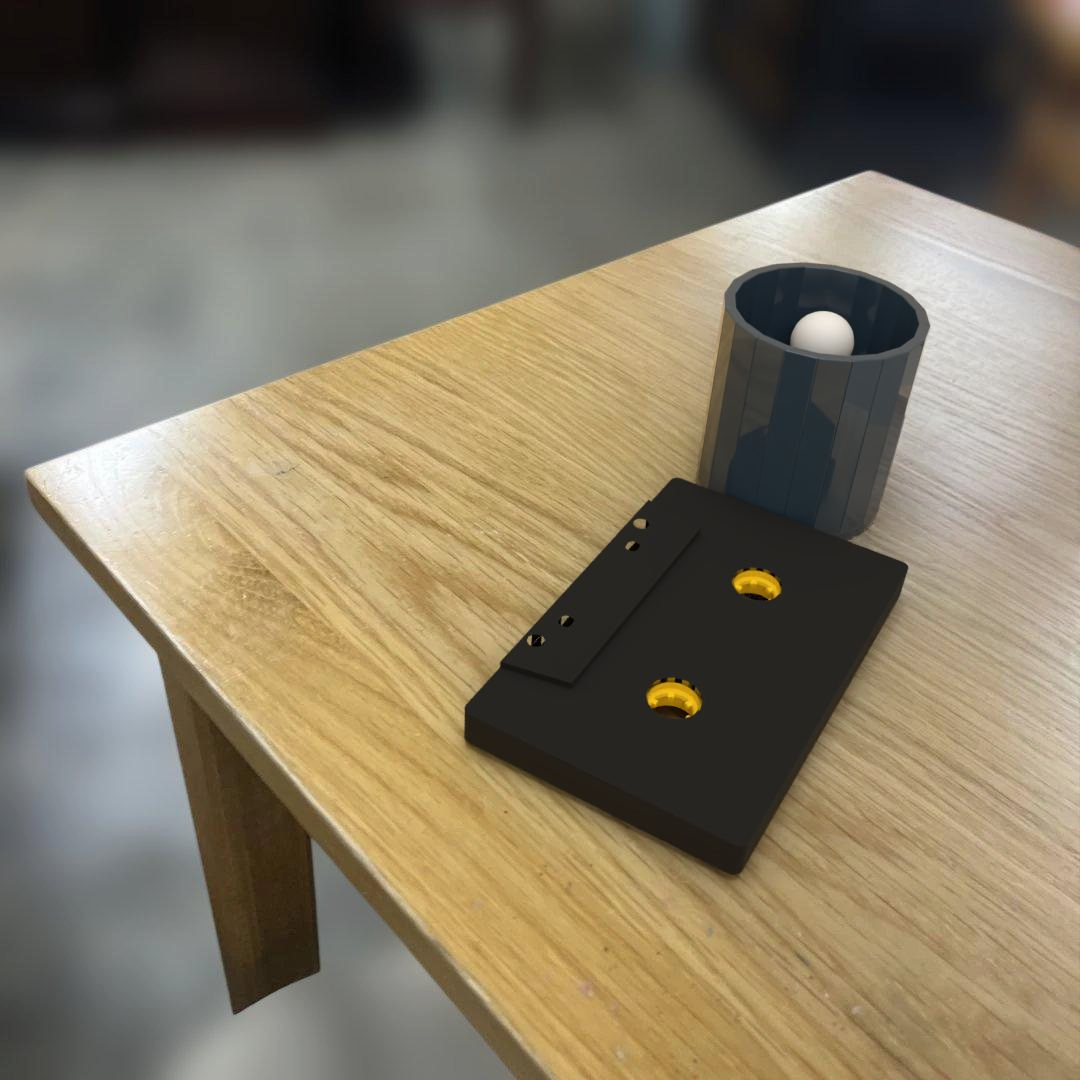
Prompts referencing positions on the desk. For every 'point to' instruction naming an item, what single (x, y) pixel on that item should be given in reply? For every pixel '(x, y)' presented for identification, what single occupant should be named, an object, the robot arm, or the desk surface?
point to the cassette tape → (690, 669)
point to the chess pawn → (823, 334)
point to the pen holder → (810, 395)
